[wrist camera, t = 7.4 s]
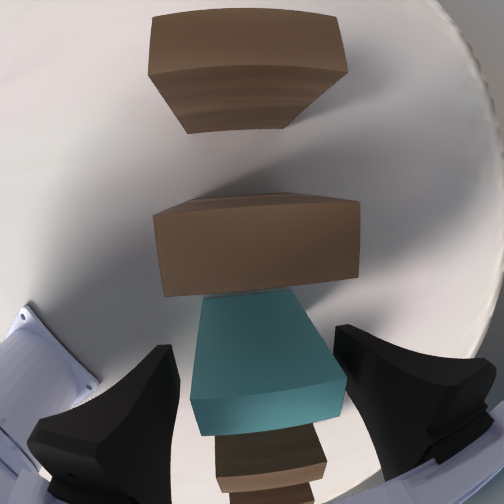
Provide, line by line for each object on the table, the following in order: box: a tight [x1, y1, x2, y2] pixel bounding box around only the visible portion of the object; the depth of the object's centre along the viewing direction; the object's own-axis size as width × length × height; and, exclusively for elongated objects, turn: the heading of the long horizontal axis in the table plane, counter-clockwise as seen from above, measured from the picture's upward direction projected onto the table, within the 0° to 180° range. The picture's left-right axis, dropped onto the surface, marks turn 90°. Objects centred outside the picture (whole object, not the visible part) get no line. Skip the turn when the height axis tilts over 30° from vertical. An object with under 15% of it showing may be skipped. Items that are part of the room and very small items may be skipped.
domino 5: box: [229, 482, 315, 504], centre depth 14 cm, size 2×5×8 cm, turn 94°
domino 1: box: [148, 8, 348, 134], centre depth 9 cm, size 2×5×8 cm, turn 93°
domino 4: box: [215, 423, 327, 493], centre depth 13 cm, size 2×5×8 cm, turn 93°
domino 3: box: [190, 290, 347, 436], centre depth 12 cm, size 2×5×8 cm, turn 94°
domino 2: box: [153, 193, 360, 297], centre depth 10 cm, size 2×5×8 cm, turn 93°
